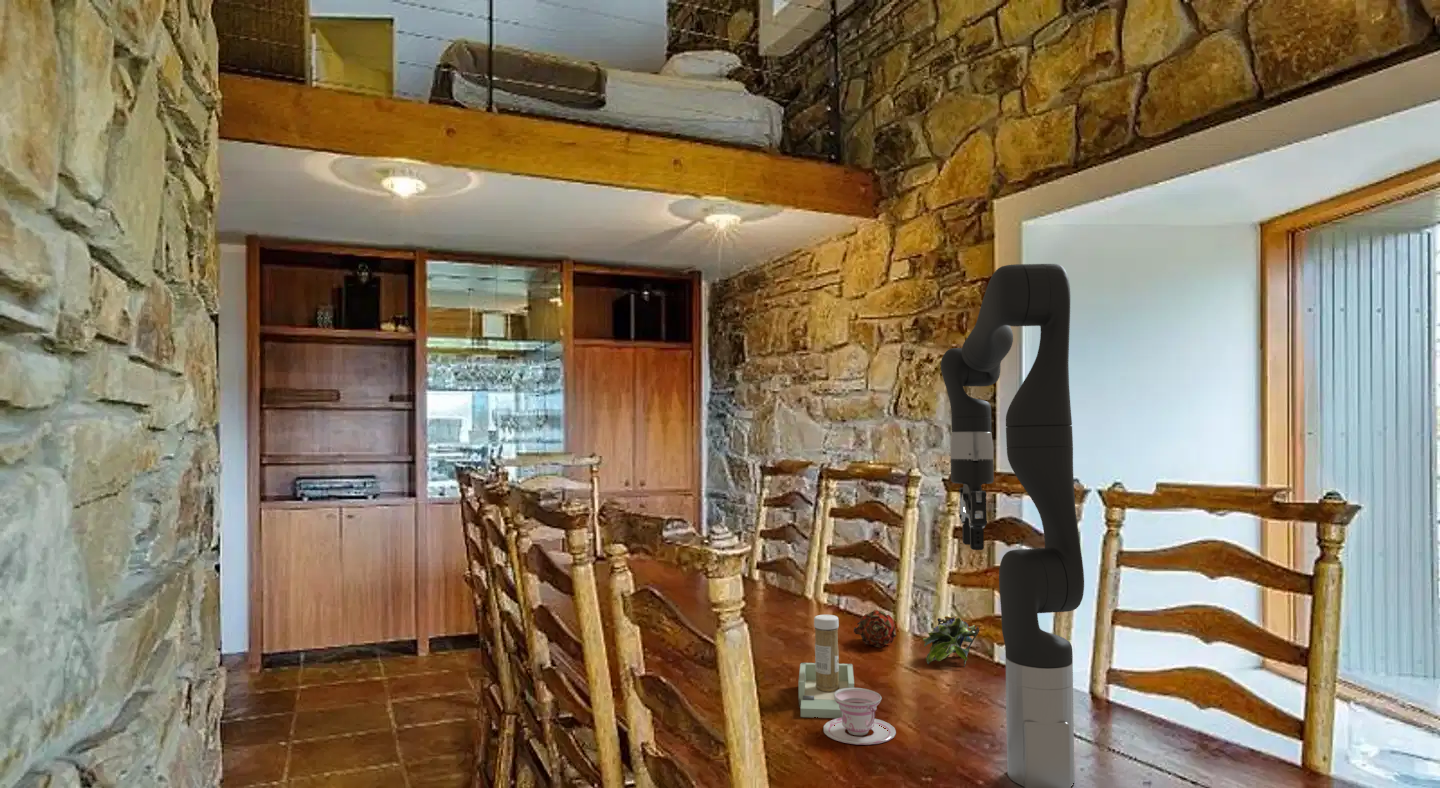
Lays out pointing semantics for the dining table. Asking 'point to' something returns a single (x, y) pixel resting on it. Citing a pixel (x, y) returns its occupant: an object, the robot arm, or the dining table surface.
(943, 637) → the passion flower
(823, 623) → the sprinkles bottle
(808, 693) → the crate
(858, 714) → the teacup
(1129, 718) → the dining table surface
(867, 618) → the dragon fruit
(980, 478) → the robot arm
